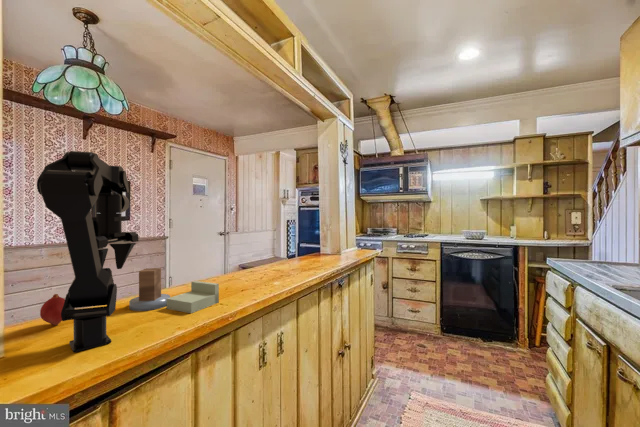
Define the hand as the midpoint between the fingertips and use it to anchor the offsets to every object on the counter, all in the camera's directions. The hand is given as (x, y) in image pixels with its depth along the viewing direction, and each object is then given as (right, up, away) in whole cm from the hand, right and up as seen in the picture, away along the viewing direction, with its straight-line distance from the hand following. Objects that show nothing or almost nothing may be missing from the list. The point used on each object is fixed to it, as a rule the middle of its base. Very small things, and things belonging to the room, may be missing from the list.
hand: (108, 272), depth 79 cm
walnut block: (+3, -11, +14) cm, 18 cm away
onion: (-12, -13, -2) cm, 18 cm away
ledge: (+17, -13, +13) cm, 25 cm away
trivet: (+3, -13, +14) cm, 19 cm away
